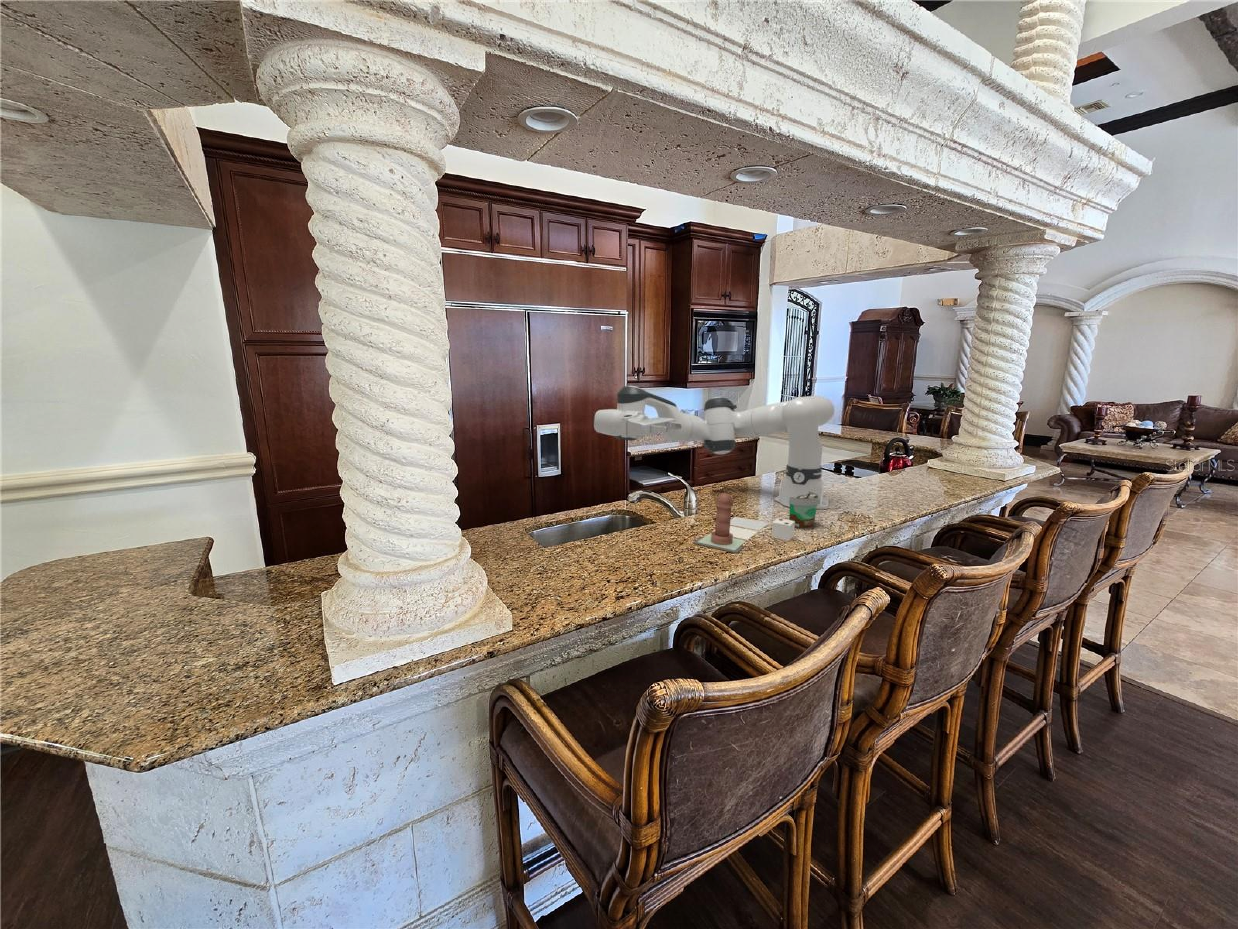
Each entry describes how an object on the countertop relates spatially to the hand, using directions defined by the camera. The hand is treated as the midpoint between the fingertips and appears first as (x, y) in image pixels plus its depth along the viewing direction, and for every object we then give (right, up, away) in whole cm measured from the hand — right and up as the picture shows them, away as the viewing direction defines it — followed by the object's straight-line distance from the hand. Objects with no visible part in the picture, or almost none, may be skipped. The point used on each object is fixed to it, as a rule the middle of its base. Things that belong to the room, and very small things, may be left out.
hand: (674, 428), depth 154 cm
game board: (+18, -32, -5) cm, 37 cm away
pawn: (+12, -33, -13) cm, 37 cm away
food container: (+42, -31, +2) cm, 52 cm away
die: (+31, -33, -8) cm, 46 cm away
